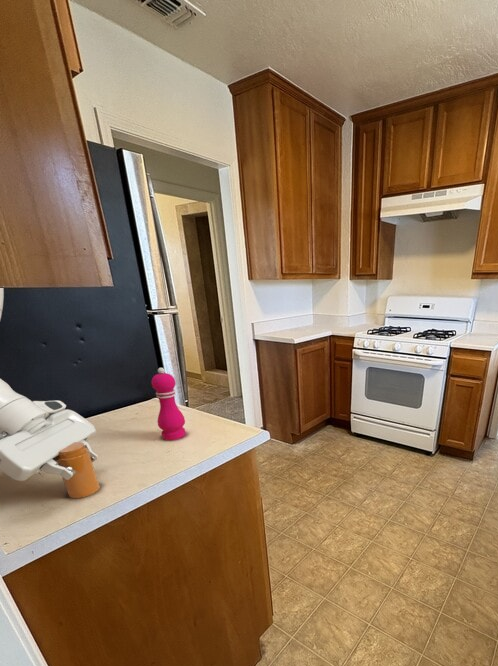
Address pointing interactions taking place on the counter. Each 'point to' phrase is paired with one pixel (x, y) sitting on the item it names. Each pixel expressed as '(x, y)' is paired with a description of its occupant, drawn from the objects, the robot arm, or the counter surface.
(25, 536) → the counter surface
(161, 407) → the pepper mill
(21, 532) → the counter surface
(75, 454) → the jar
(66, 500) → the counter surface
